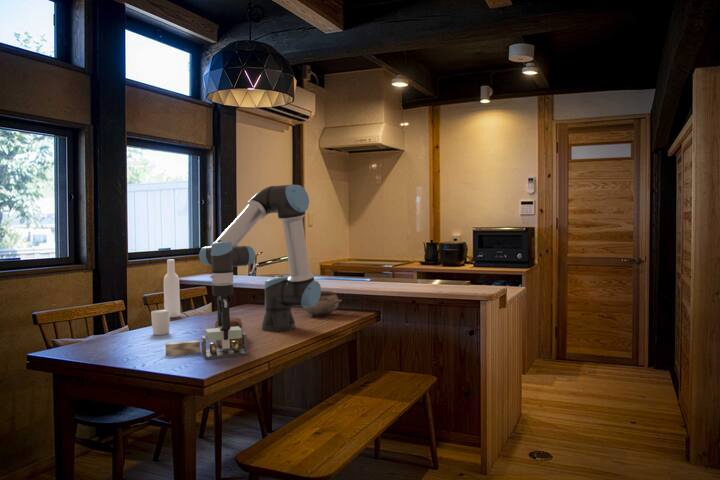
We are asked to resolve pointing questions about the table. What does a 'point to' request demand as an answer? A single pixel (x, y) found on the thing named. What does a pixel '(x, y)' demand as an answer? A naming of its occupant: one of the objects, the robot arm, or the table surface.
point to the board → (217, 334)
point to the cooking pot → (324, 304)
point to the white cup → (160, 321)
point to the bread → (233, 323)
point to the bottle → (171, 290)
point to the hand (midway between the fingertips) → (224, 346)
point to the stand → (182, 347)
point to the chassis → (224, 353)
